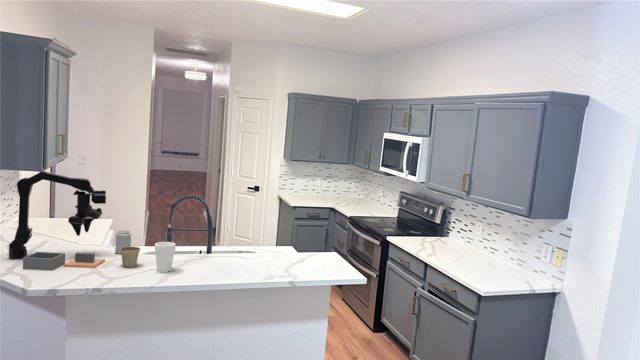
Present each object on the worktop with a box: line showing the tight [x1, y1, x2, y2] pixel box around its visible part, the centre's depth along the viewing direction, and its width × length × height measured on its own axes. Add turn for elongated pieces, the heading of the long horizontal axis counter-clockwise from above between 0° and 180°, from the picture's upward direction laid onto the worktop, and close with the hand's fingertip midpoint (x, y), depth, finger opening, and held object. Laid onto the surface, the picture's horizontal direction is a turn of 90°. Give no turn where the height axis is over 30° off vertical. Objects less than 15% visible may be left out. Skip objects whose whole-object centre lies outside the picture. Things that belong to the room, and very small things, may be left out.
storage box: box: [22, 251, 66, 271], centre depth 208 cm, size 13×11×6 cm
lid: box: [62, 252, 106, 269], centre depth 216 cm, size 14×12×6 cm
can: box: [114, 229, 132, 255], centre depth 243 cm, size 8×8×12 cm
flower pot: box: [120, 246, 141, 268], centre depth 220 cm, size 9×9×9 cm
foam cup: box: [154, 241, 176, 273], centre depth 216 cm, size 10×9×13 cm
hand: (82, 233), depth 230 cm, fingers open, 9 cm apart
